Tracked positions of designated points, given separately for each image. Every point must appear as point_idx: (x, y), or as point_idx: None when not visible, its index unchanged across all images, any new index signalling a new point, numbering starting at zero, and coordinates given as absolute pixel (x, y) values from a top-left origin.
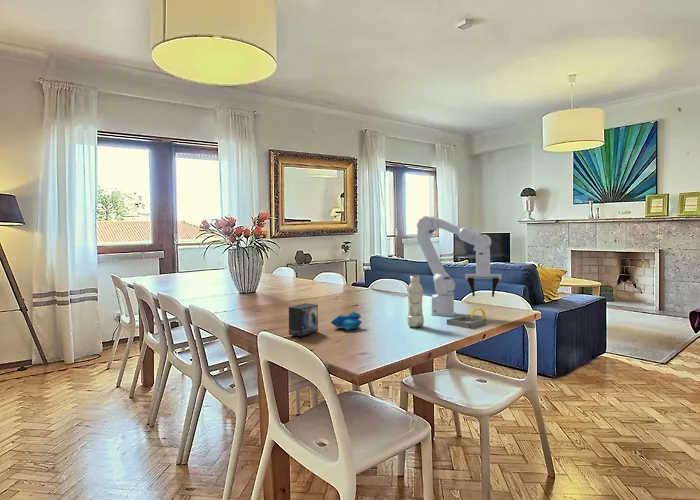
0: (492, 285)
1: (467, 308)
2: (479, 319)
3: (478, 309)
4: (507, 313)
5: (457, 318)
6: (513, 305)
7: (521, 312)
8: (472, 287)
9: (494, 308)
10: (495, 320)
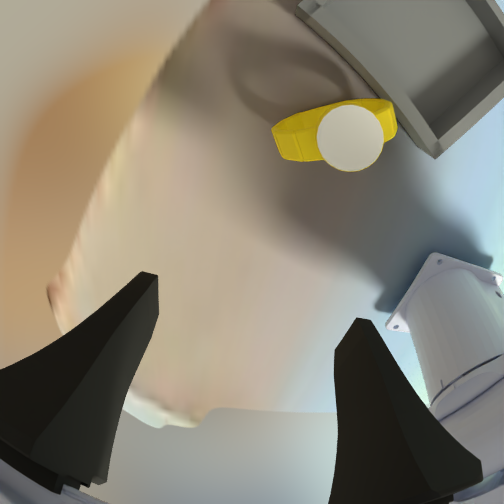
0: (83, 377)
1: (276, 406)
2: (343, 26)
3: (349, 103)
4: None
5: (476, 101)
6: (131, 406)
7: None
8: (405, 402)
9: (182, 395)
10: (195, 178)
